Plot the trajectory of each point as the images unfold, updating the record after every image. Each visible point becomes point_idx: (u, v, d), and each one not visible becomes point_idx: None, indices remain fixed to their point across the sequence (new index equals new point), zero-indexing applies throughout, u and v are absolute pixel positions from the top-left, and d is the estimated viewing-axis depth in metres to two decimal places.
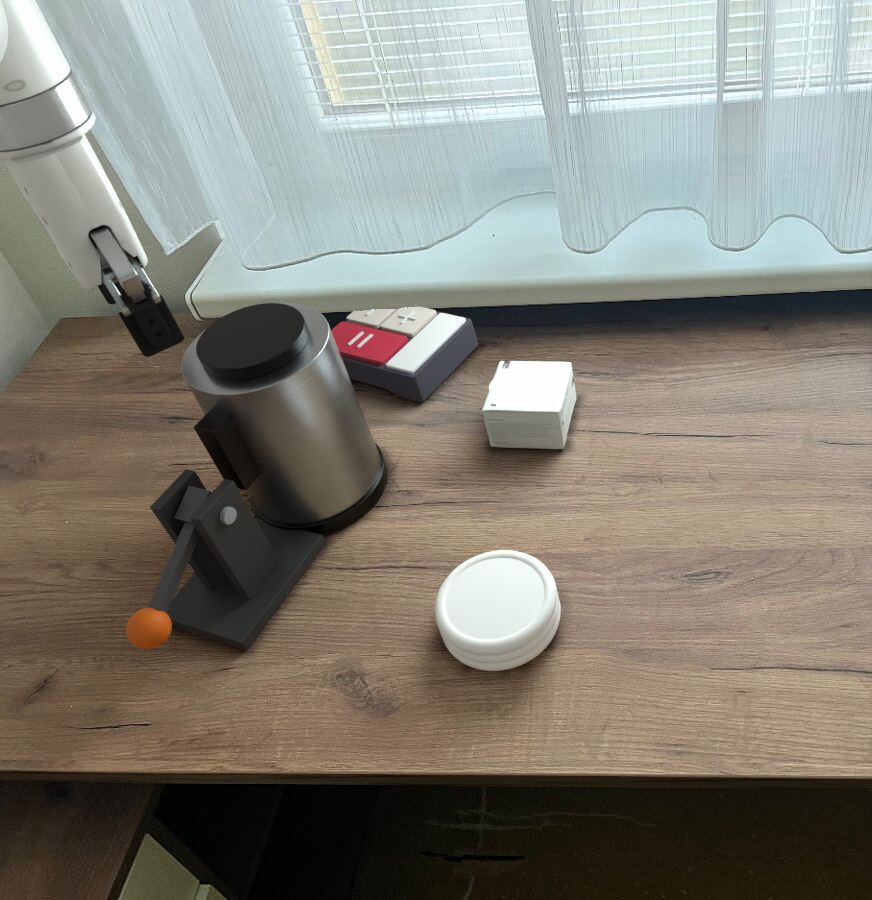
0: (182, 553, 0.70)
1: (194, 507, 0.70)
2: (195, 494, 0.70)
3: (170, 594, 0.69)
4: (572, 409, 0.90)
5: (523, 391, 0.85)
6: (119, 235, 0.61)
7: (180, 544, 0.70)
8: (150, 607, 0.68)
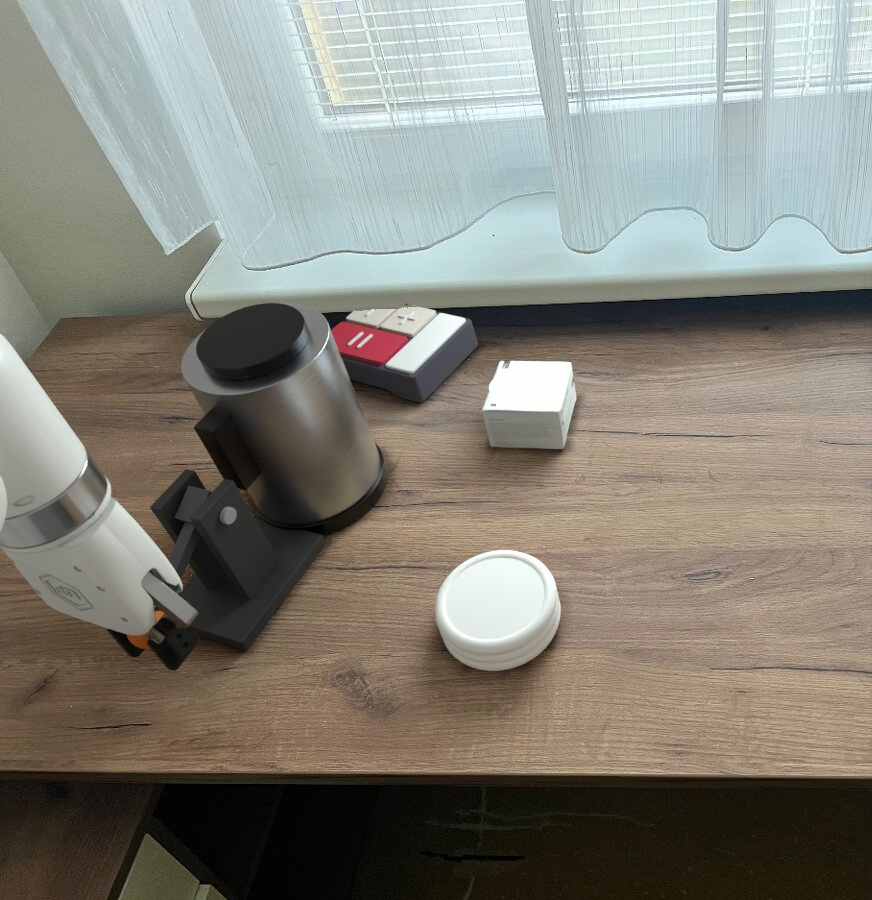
0: (182, 553, 0.70)
1: (194, 507, 0.70)
2: (195, 494, 0.70)
3: None
4: (572, 409, 0.90)
5: (523, 391, 0.85)
6: (163, 572, 0.62)
7: (180, 544, 0.70)
8: None
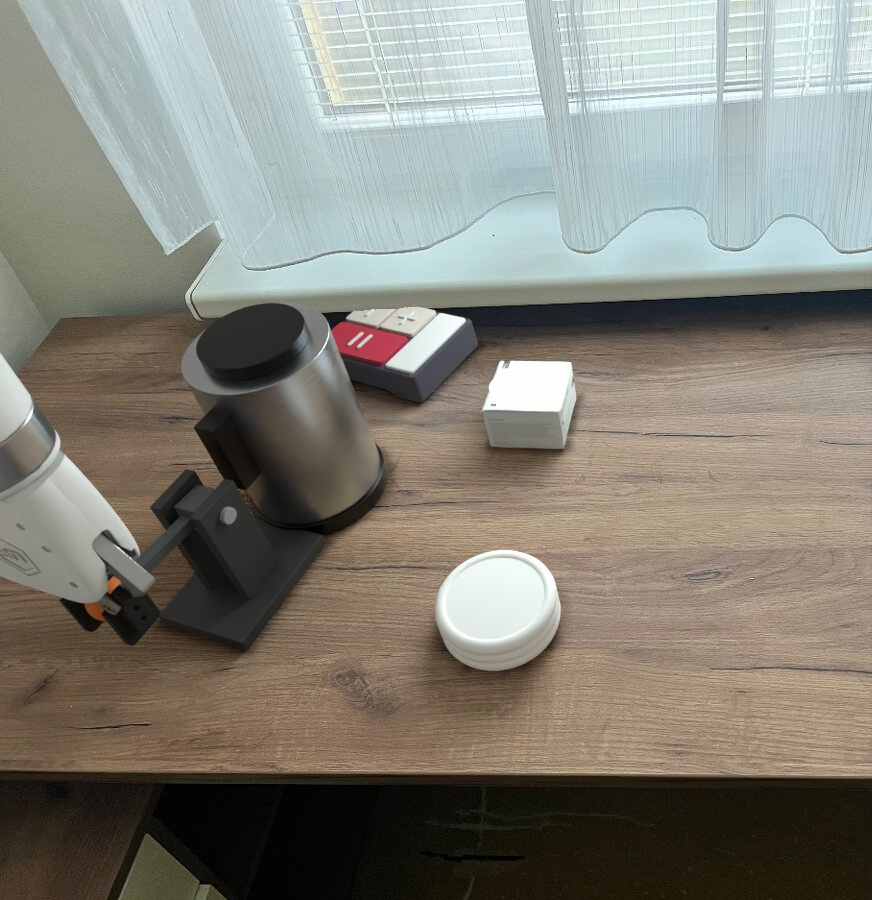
0: (170, 538, 0.68)
1: (198, 500, 0.70)
2: (202, 491, 0.71)
3: None
4: (572, 409, 0.90)
5: (523, 391, 0.85)
6: (117, 535, 0.58)
7: (170, 531, 0.69)
8: None
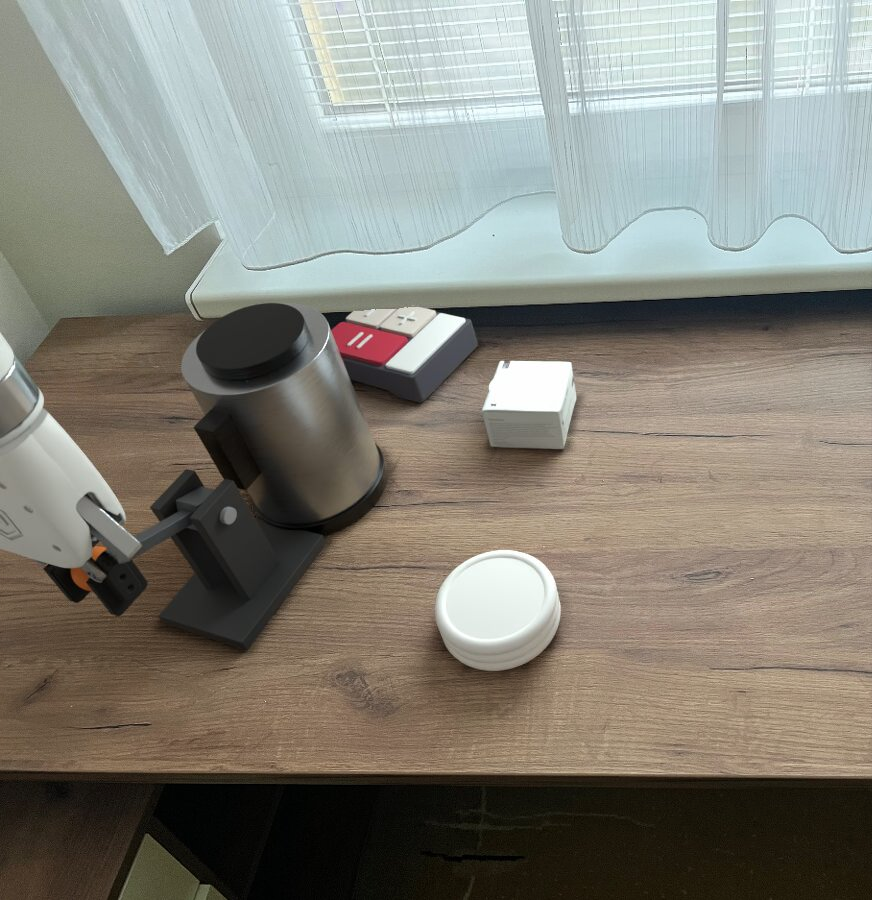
0: (167, 525, 0.68)
1: (201, 497, 0.71)
2: (206, 491, 0.72)
3: None
4: (572, 409, 0.90)
5: (523, 391, 0.85)
6: (102, 497, 0.56)
7: (168, 520, 0.68)
8: None
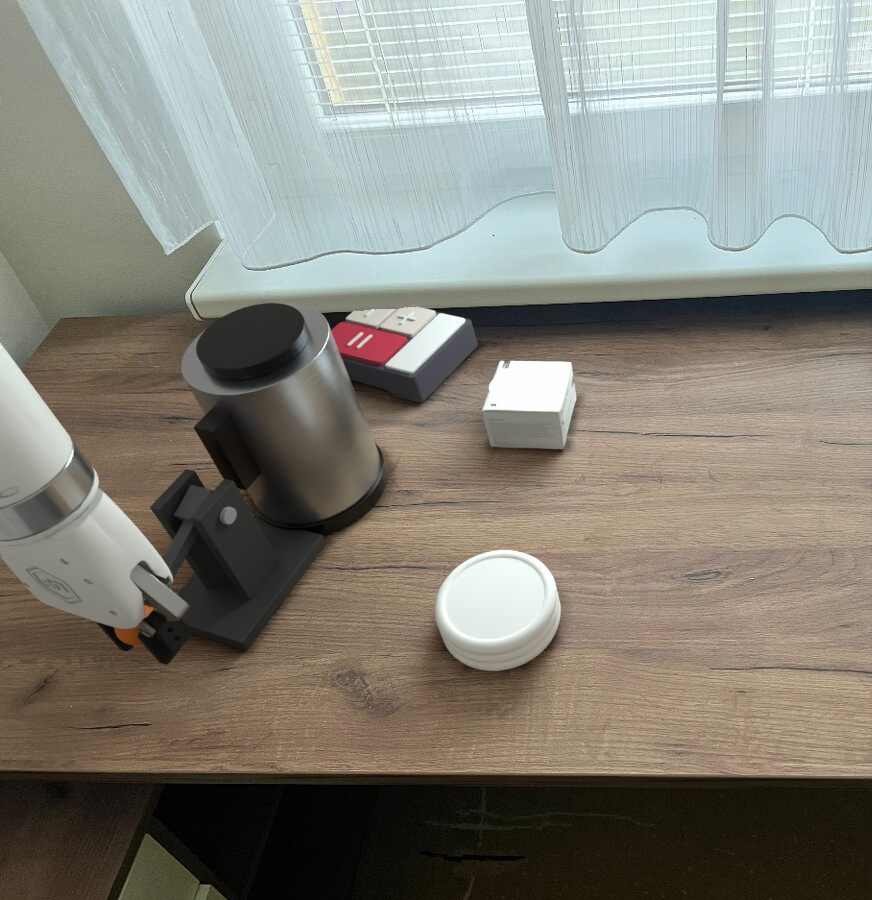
0: (178, 550, 0.69)
1: (195, 505, 0.70)
2: (197, 493, 0.71)
3: None
4: (572, 409, 0.90)
5: (523, 391, 0.85)
6: (152, 564, 0.61)
7: (177, 542, 0.70)
8: None
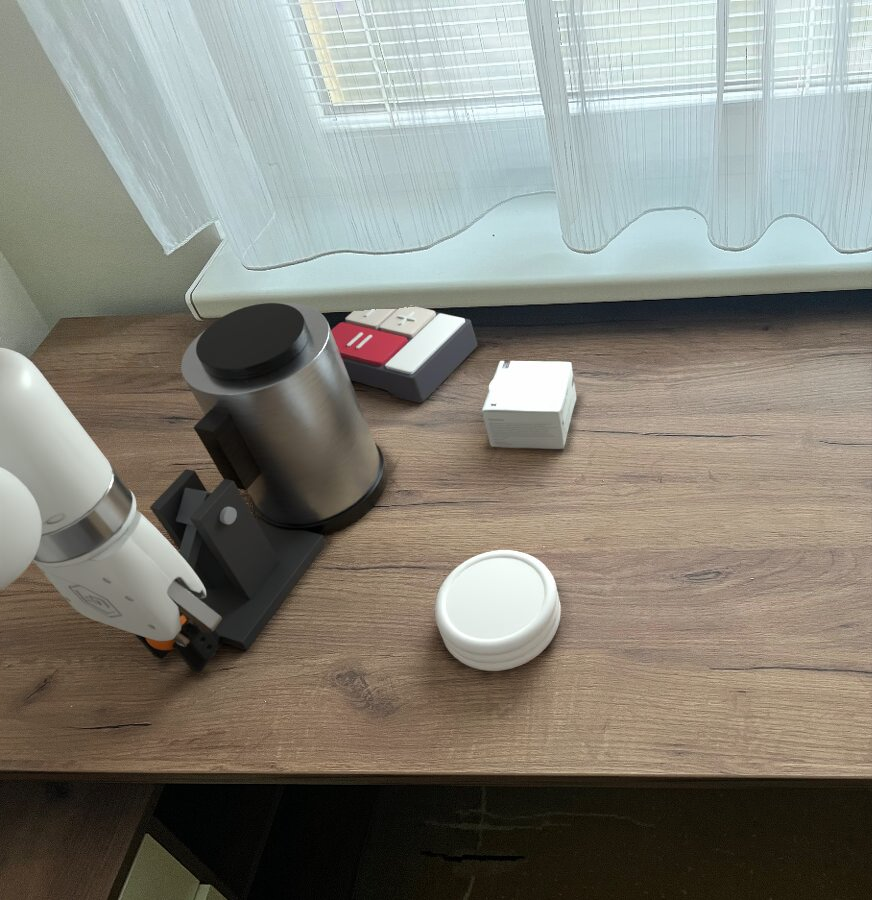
0: (188, 555, 0.70)
1: (193, 510, 0.70)
2: (193, 496, 0.70)
3: None
4: (572, 409, 0.90)
5: (523, 391, 0.85)
6: (187, 580, 0.64)
7: (185, 546, 0.70)
8: None
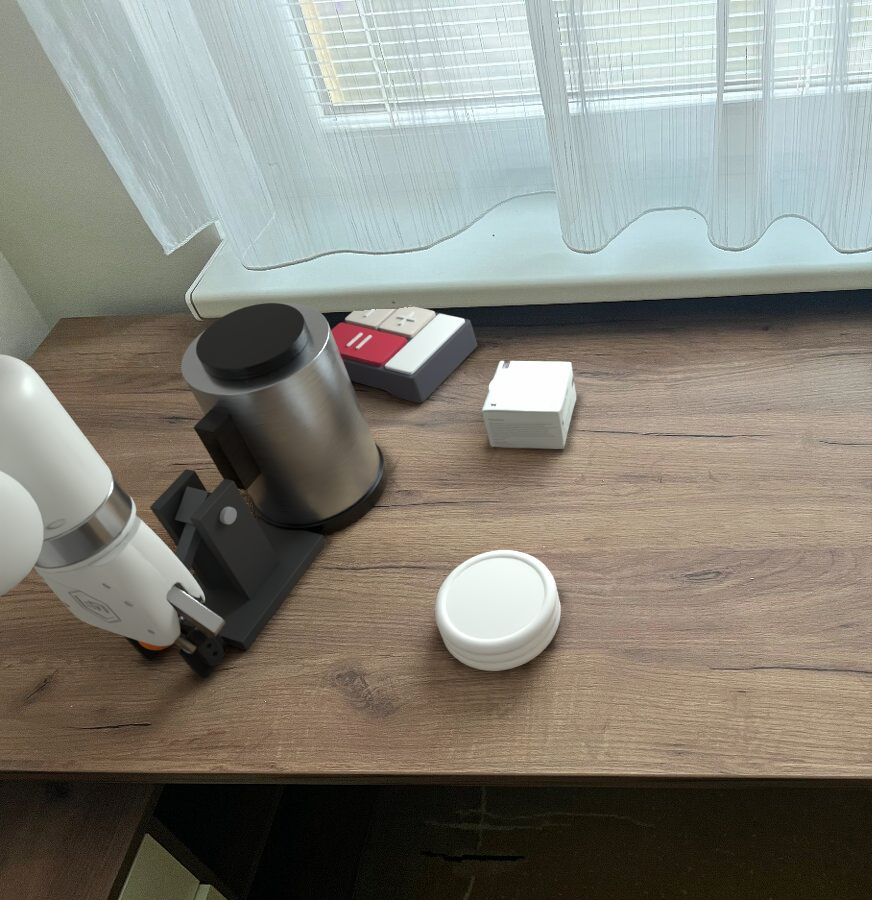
0: (185, 554, 0.70)
1: (194, 508, 0.70)
2: (194, 495, 0.70)
3: None
4: (572, 409, 0.90)
5: (523, 391, 0.85)
6: (186, 585, 0.65)
7: (182, 545, 0.70)
8: None
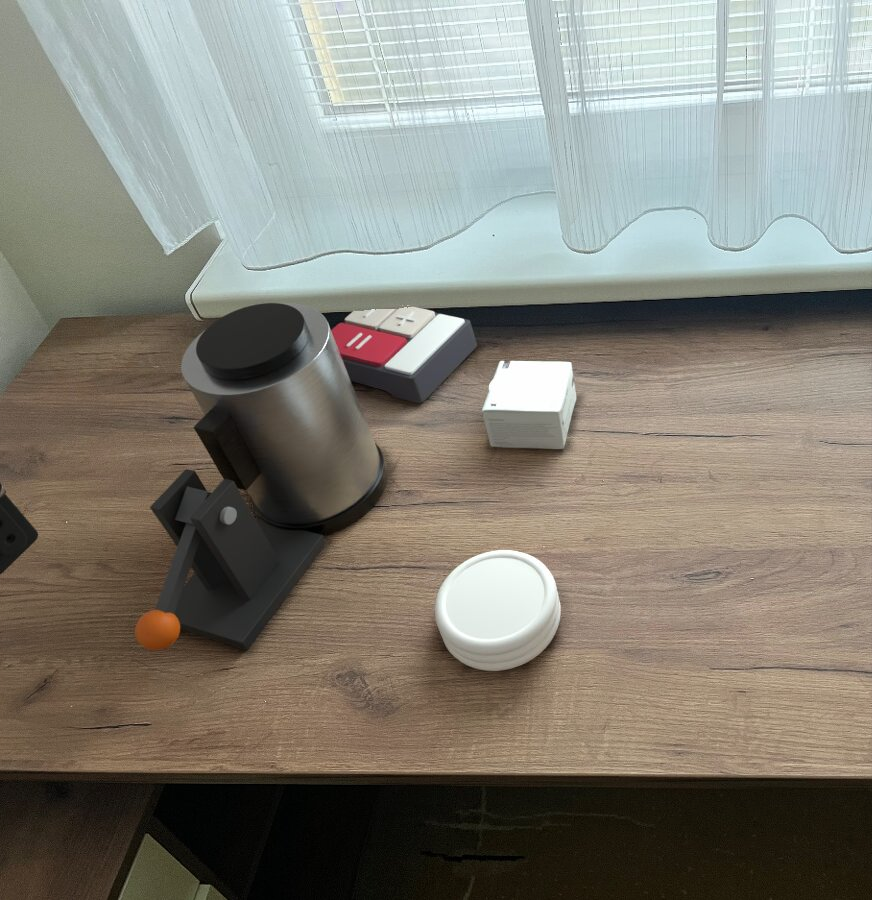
0: (185, 554, 0.70)
1: (194, 508, 0.70)
2: (194, 495, 0.70)
3: (176, 595, 0.70)
4: (572, 409, 0.90)
5: (523, 391, 0.85)
6: None
7: (182, 545, 0.70)
8: (157, 610, 0.69)
